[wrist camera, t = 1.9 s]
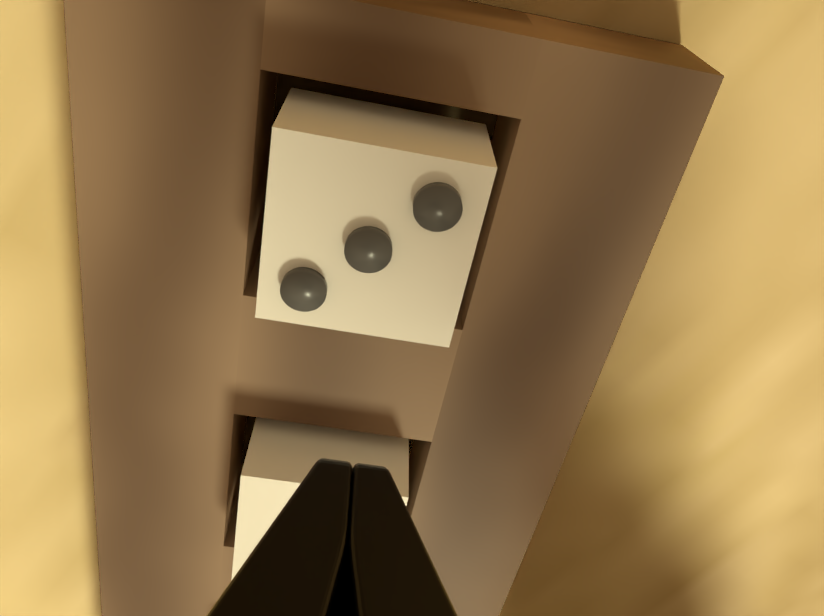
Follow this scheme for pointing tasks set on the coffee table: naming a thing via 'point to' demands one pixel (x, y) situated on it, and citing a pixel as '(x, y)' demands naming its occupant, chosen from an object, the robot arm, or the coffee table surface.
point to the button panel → (332, 349)
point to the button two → (301, 470)
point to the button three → (371, 217)
